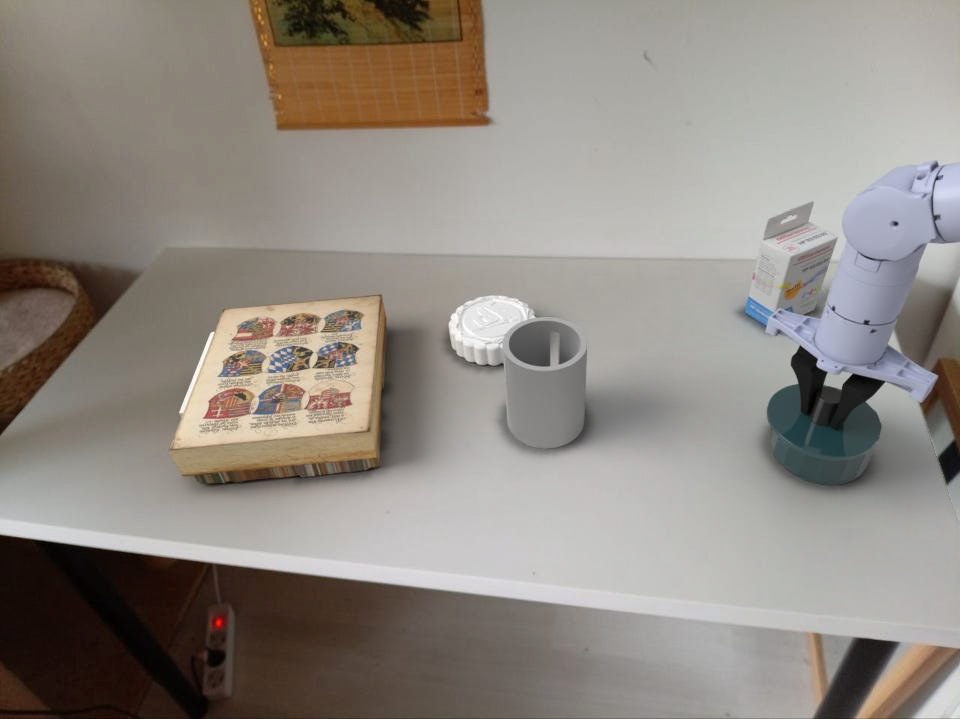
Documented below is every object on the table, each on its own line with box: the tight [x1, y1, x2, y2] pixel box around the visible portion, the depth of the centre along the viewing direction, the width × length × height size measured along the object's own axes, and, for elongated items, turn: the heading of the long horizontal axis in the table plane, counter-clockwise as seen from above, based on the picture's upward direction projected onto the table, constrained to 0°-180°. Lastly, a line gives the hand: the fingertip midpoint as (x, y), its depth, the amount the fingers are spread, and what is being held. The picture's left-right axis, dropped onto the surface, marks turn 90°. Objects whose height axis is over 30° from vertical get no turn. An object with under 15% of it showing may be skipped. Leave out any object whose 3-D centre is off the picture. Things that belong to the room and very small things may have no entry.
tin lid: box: [766, 383, 879, 460], centre depth 67 cm, size 10×10×4 cm
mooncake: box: [448, 294, 537, 367], centre depth 93 cm, size 12×12×4 cm
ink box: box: [744, 200, 839, 327], centre depth 89 cm, size 8×5×15 cm, turn 119°
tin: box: [770, 385, 883, 486], centre depth 73 cm, size 10×10×5 cm
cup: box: [503, 316, 588, 450], centre depth 78 cm, size 9×9×12 cm
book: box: [168, 293, 388, 485], centre depth 86 cm, size 25×6×28 cm
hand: (822, 415), depth 68 cm, fingers closed on tin lid, 2 cm apart
